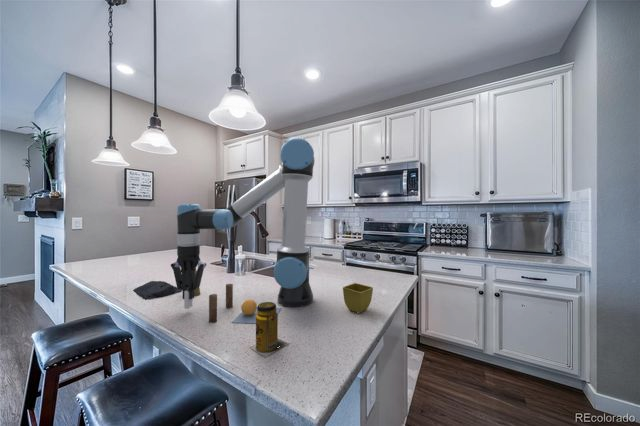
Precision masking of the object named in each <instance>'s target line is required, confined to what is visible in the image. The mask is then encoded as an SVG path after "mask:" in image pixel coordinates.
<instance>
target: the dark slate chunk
mask: <svg viewBox="0 0 640 426" xmlns="http://www.w3.org/2000/svg"><path fill="white" fill-rule="evenodd" d="M132 291H134V293H135V294H136V295H137V296H139V297H140V298H141V297H142V298H141V299H143V300H144V299H145V300H144V301H147V300H155V299H158V298H163V297H164V298H165V297H169V296H173V295H175V294H178V293H181V292H183V291H182V290H181V289H178V288H177V286H174V285H172V284H171V283H168V282H166V281H163V280H150V281H148V282H146V283H145V284H142V285H140V286H138V287H137V286H136V288H134V289H133V290H132Z"/></svg>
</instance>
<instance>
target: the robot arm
mask: <svg viewBox="0 0 640 426" xmlns="http://www.w3.org/2000/svg"><path fill="white" fill-rule="evenodd" d="M279 153H280V160H281V164H280V165H279V166H278V169H277V170H275V171H273V173H271V174H270V175H269V176H268V177H266V178H265V179H263V180H262V181H261V182H259V183H258V184H256V186H254V187H253V188H251V189H250V190H249V191H248V192H246V193H245V194H244V195H242V196H241V197H240V198H238V199H237V200H236V201H234V202H233V203H232V204H230V205H229V206H228V207H226V208H225V209H224V208H222V209H221V208H219V209H217V208H216V209H215V208H213V209H202V208H201V205H200V204H199V203H196V204H195V203H180V204H179V205H178V206H177V215H176V218H177V235H176V236H177V237H176V244H177V246H176V254H177V255H176V256H177V258H176V261H175V262H173V263H171V264H170V267H171V268H172V270H173V275H174V279H175V285H176V287H177V288H178V289H181V290H182V291H181V292H182V299H183V300H184V302H183V303H184V307H183V308H184V309H186V310H189V309H191V308H192V307H193V301H194V300H193V299H194V298H195V297H194V290H195V289H197V288H200V286H201V283H202V282H201V281H202V278H203V273H204V269H205V268H206V266H207V263H206V262H202V261H201V258H200V254H201V252H200V251H201V245H199V244H200V243H201V242H200V241H201V240H200V239H201V237H200V236H201V235H200V233H201V230H219V231H220V230H229V229H231V228H233V227H237V225H238V224H239V223H240V221H242V220H243V219H244V218H246V216H248V215H249V214H251V213H252V212H253V211H255V210H256V209H258V208H259V207H260V206H261V205H263V204H264V203H266V202H267V201H268V200H269V199H271V198H272V197H274V196H275V195H276V194H278V193H279V192H281V190H283V189H284V193H283V195H284V196H283V213H282V214H283V215H282V216H283V217H282V230H281V231H282V232H281V244H280V246H278V248H276V262H275V265H274V268H273V278H274V280H275V281H276V284H278V285H279V286H280V288H279V291H278V295H277V303H278V304H279V305H280V306H283V307H289V308H300V307H304V306H308V305H310V304H312V303H313V302H312V301H314V294H313V293H314V292H313V291H312V287H311V284H310V249H309V248H308V247H306V244H305V243H306V224H307V212H308V211H307V208H308V193H309V182H310V181H312V179H313V177H314V175H313V172H314V165H315V157H314V156H315V152H314V148H313V146H312V145H311V144H310V143H309V142H308V141H307V140H306V139H304V138H301V137H300V138H299V137H293V138H290V139H288V140H287V141H285V142H284V143H283V144H282V146H281V149H280V152H279ZM196 270H197V273H196V277H195V271H196Z"/></svg>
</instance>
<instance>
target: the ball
mask: <svg viewBox="0 0 640 426" xmlns="http://www.w3.org/2000/svg"><path fill="white" fill-rule="evenodd" d="M257 306H258V305H257V302H256V301H255V300H253V299H246V300H245V301H243V302H242V304H241V307H240V309H241V312H243V314H245V315H252V314H253V313H254V312H255V311H256V309H257Z"/></svg>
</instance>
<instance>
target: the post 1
mask: <svg viewBox="0 0 640 426" xmlns="http://www.w3.org/2000/svg"><path fill="white" fill-rule="evenodd" d="M217 321H218V294H217V293H212V294H209V295H208V322H209V323H210V324H213V323H216V322H217Z"/></svg>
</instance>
